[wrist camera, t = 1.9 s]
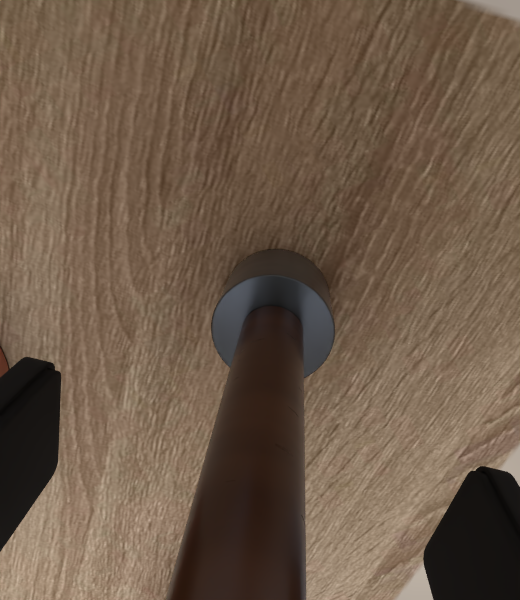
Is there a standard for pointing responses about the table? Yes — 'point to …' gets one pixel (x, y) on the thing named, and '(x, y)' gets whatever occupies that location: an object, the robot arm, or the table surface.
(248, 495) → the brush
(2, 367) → the jar
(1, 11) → the table surface
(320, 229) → the table surface
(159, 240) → the table surface
